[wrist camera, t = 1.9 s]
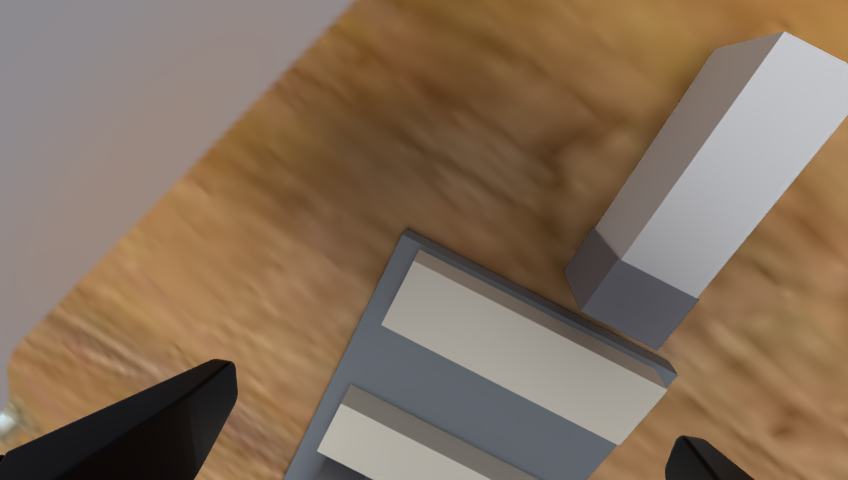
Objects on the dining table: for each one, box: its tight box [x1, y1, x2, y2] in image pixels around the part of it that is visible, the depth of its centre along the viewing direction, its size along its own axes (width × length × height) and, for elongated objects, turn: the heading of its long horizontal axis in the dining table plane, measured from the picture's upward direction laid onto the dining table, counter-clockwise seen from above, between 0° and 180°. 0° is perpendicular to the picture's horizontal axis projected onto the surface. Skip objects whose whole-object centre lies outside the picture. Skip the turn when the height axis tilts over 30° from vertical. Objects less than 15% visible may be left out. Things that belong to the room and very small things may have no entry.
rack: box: [283, 229, 678, 480], centre depth 22 cm, size 14×21×2 cm, turn 155°
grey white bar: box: [564, 31, 848, 350], centre depth 16 cm, size 10×3×4 cm, turn 155°
